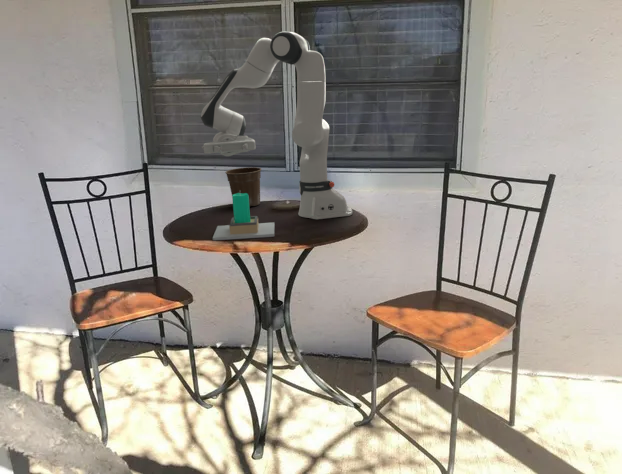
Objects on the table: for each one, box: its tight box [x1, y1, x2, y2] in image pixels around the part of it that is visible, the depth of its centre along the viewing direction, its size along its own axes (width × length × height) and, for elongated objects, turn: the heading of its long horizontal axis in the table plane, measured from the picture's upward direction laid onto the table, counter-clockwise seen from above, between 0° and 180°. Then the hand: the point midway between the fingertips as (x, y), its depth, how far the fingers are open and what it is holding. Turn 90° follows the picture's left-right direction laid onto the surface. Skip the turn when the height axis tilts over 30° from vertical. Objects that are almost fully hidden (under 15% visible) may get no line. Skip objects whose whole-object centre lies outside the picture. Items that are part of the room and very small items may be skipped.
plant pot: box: [225, 166, 262, 208], centre depth 231 cm, size 16×16×16 cm
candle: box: [231, 193, 251, 223], centre depth 186 cm, size 6×6×12 cm
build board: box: [212, 215, 276, 241], centre depth 188 cm, size 22×16×5 cm
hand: (232, 148), depth 192 cm, fingers open, 8 cm apart
